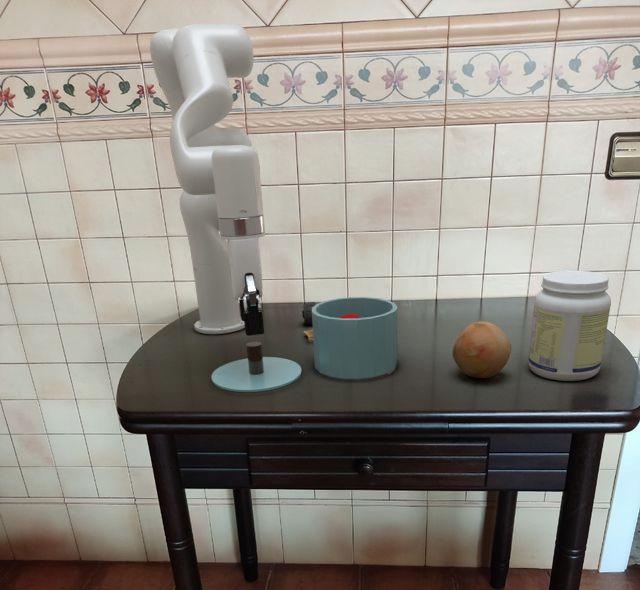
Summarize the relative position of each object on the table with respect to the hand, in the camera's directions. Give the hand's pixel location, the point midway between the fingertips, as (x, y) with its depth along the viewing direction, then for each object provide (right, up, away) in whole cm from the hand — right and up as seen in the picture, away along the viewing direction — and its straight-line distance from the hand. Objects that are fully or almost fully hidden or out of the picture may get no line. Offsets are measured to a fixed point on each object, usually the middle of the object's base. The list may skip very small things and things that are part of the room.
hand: (252, 327), depth 107 cm
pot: (+19, -6, +8) cm, 21 cm away
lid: (0, -8, +4) cm, 9 cm away
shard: (+15, +1, +23) cm, 28 cm away
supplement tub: (+56, -8, +1) cm, 57 cm away
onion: (+41, -9, 0) cm, 42 cm away
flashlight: (+16, +7, +34) cm, 39 cm away
